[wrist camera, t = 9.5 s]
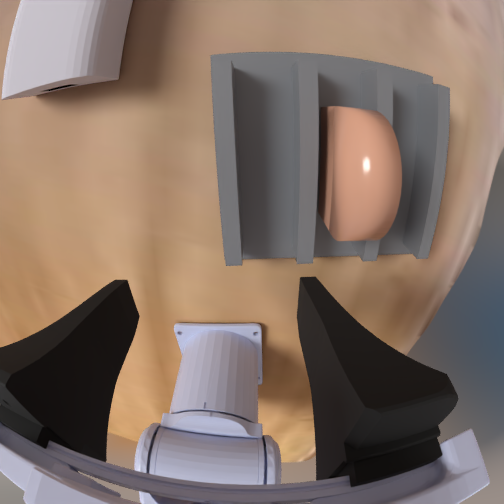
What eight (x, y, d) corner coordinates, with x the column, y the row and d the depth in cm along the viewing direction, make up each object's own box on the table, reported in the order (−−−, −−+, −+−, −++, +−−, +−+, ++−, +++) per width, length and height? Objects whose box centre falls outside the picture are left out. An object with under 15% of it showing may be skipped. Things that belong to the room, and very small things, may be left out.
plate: (346, 212, 18) (387, 266, 12) (318, 212, 18) (349, 268, 12) (351, 109, 15) (407, 112, 8) (320, 107, 15) (362, 105, 8)
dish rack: (408, 247, 20) (428, 269, 17) (226, 252, 21) (221, 279, 18) (425, 77, 14) (453, 75, 10) (212, 58, 14) (203, 46, 11)
